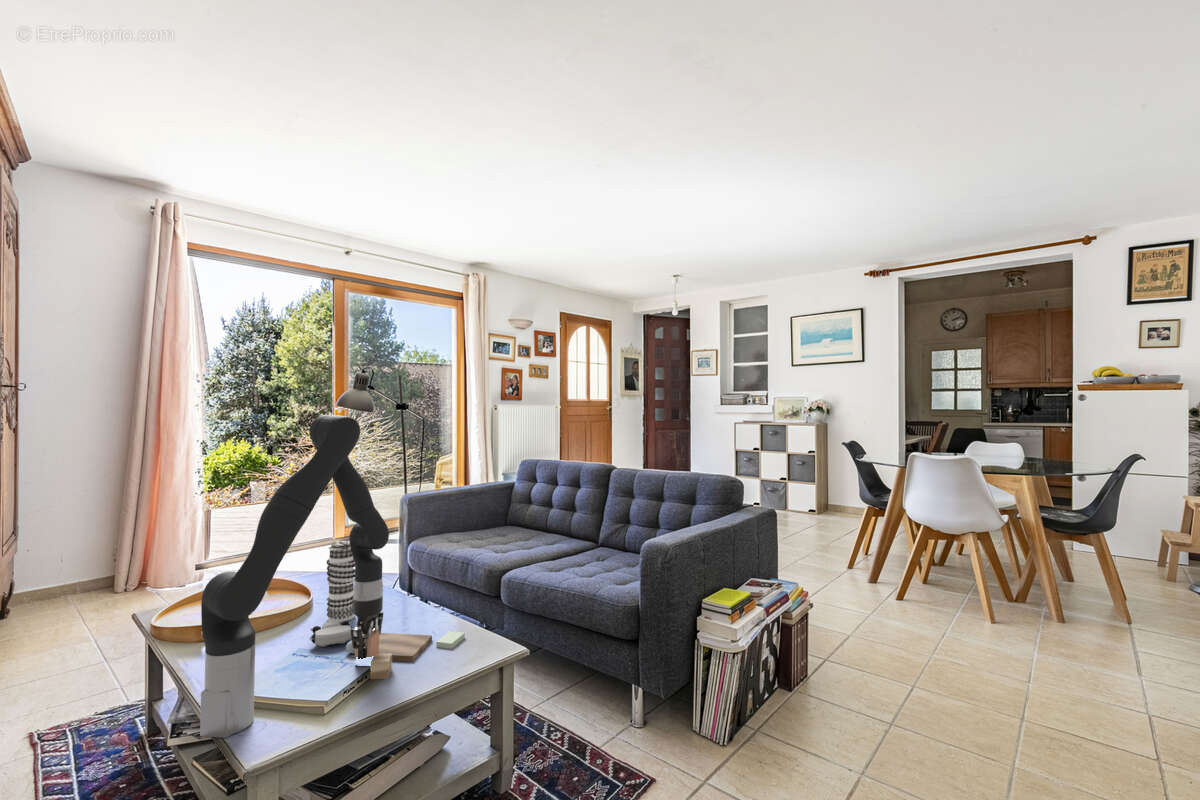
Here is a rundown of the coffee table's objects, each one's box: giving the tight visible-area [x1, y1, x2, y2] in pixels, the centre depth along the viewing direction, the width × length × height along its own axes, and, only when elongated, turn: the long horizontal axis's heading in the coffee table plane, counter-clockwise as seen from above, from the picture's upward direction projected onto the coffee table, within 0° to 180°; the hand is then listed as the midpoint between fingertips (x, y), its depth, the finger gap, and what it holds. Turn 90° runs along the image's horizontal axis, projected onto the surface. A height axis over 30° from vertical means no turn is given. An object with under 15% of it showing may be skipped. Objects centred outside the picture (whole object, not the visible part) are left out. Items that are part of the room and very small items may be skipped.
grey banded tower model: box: [326, 540, 355, 623], centre depth 185 cm, size 9×9×25 cm
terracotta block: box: [354, 631, 379, 658], centre depth 153 cm, size 4×4×8 cm
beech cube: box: [369, 654, 393, 680], centre depth 146 cm, size 4×4×4 cm
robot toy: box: [309, 620, 353, 648], centre depth 167 cm, size 12×4×15 cm
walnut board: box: [379, 632, 433, 662], centre depth 161 cm, size 14×16×2 cm
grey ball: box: [345, 640, 355, 654], centre depth 158 cm, size 4×4×4 cm
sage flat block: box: [435, 630, 466, 650], centre depth 167 cm, size 8×5×2 cm, turn 166°
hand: (367, 657), depth 153 cm, fingers closed on terracotta block, 4 cm apart
